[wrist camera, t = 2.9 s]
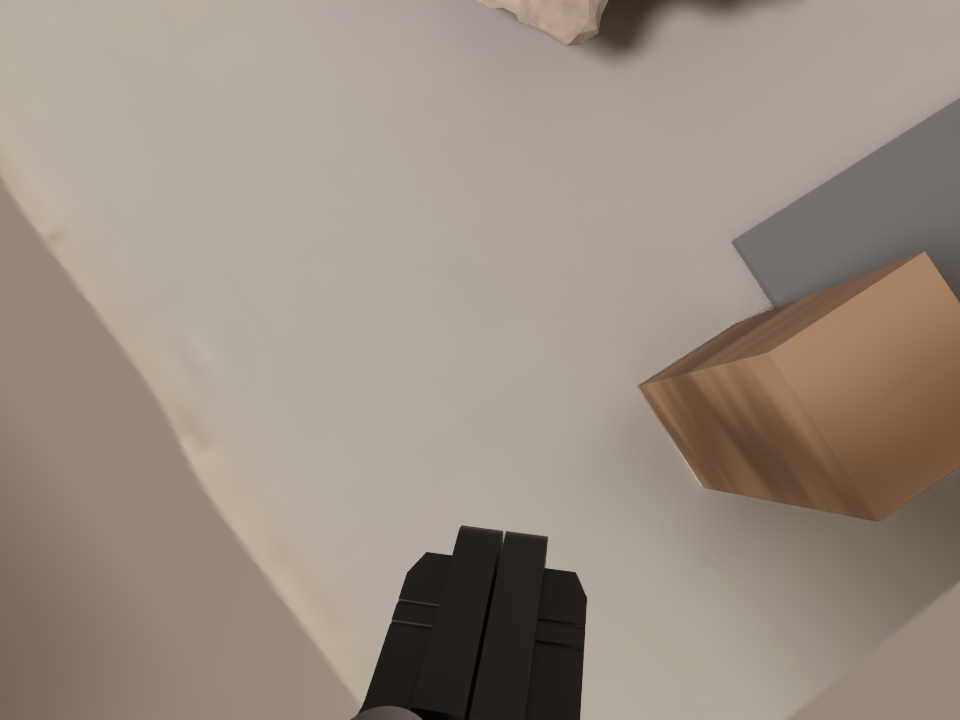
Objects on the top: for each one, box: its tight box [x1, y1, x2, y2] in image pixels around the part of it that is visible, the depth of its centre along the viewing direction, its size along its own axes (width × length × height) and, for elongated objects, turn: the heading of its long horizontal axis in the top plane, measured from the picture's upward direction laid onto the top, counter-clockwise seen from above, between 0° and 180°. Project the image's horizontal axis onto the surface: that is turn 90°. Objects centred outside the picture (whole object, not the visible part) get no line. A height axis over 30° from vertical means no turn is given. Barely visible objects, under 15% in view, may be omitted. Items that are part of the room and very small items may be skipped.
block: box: [637, 251, 960, 522], centre depth 24 cm, size 4×4×12 cm
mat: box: [732, 98, 960, 308], centre depth 31 cm, size 10×14×1 cm
